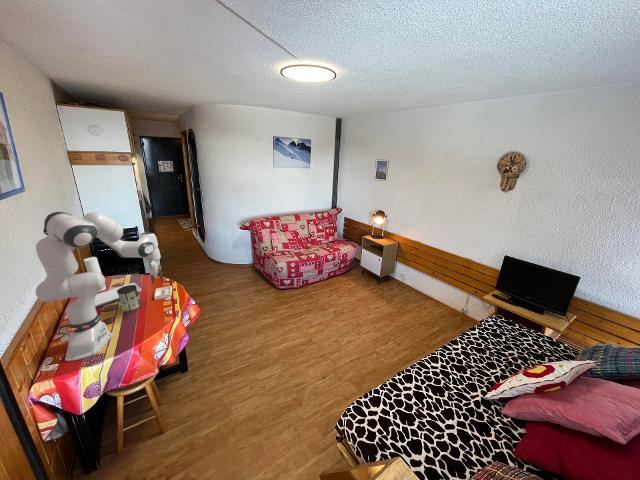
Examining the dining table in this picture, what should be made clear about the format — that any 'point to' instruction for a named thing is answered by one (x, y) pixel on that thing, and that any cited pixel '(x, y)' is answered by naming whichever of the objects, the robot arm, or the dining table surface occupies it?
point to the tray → (110, 296)
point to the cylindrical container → (93, 266)
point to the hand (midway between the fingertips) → (156, 275)
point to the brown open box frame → (159, 274)
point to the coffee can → (129, 297)
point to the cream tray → (160, 296)
